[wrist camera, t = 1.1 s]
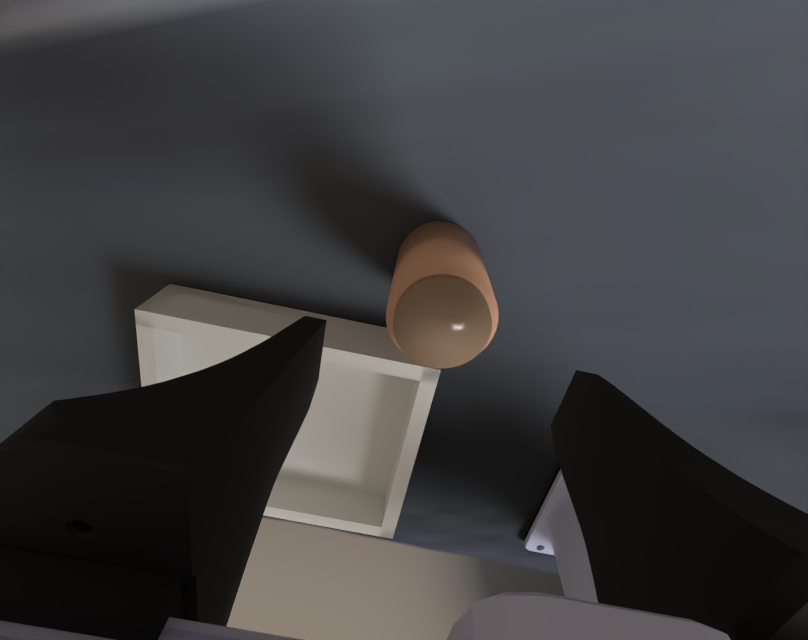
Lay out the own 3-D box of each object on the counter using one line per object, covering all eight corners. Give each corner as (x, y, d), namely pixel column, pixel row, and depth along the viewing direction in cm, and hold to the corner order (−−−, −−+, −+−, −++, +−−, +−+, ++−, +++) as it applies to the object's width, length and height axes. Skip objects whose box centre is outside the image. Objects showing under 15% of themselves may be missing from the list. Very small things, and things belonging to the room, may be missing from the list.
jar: (491, 231, 20) (516, 286, 14) (468, 308, 22) (482, 384, 16) (406, 212, 20) (396, 260, 14) (390, 291, 22) (375, 363, 16)
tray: (439, 338, 23) (441, 370, 20) (396, 497, 28) (392, 538, 26) (169, 283, 22) (134, 309, 20) (178, 456, 28) (151, 495, 25)
